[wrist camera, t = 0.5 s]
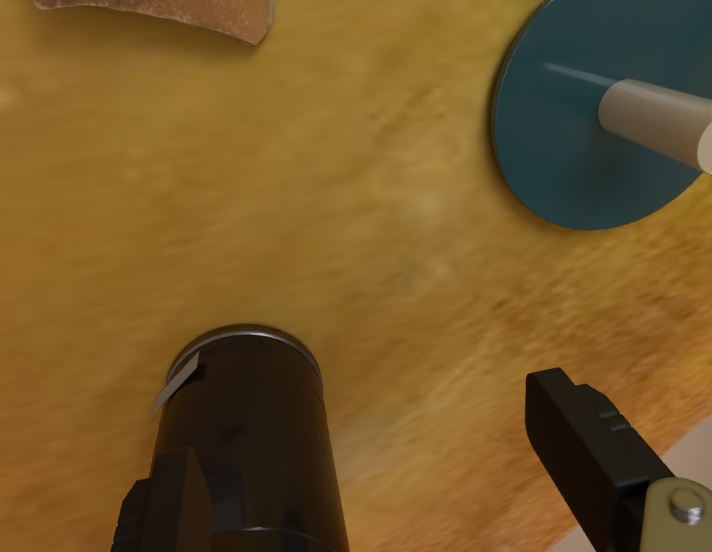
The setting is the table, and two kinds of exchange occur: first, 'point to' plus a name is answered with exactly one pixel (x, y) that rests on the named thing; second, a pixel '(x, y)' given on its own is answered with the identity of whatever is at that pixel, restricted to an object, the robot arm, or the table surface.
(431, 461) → the table surface
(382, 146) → the table surface
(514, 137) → the lid
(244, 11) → the pottery shard
